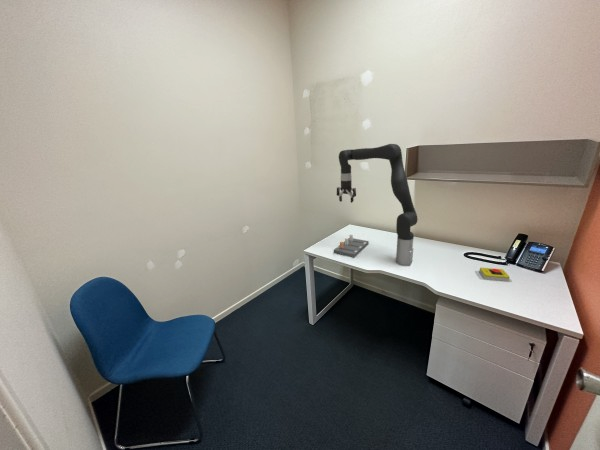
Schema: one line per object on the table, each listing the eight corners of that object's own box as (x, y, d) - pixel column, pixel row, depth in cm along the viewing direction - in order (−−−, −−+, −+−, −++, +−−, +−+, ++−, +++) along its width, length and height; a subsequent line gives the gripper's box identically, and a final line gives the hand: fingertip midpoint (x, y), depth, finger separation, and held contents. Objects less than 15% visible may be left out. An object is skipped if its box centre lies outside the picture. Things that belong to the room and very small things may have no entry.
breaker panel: (368, 244, 191) (368, 235, 188) (354, 257, 171) (354, 248, 169) (349, 240, 200) (349, 231, 198) (333, 253, 180) (333, 243, 178)
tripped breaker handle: (343, 247, 181) (343, 242, 179) (342, 248, 180) (342, 242, 178) (340, 247, 182) (340, 241, 181) (339, 248, 181) (339, 242, 179)
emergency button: (514, 275, 131) (480, 273, 136) (512, 283, 133) (479, 280, 138) (506, 267, 140) (475, 264, 144) (505, 274, 141) (474, 271, 146)
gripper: (357, 179, 174) (357, 201, 180) (339, 178, 182) (339, 199, 188) (353, 180, 169) (353, 204, 174) (334, 180, 177) (335, 202, 182)
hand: (346, 201), depth 181 cm, fingers open, 8 cm apart
